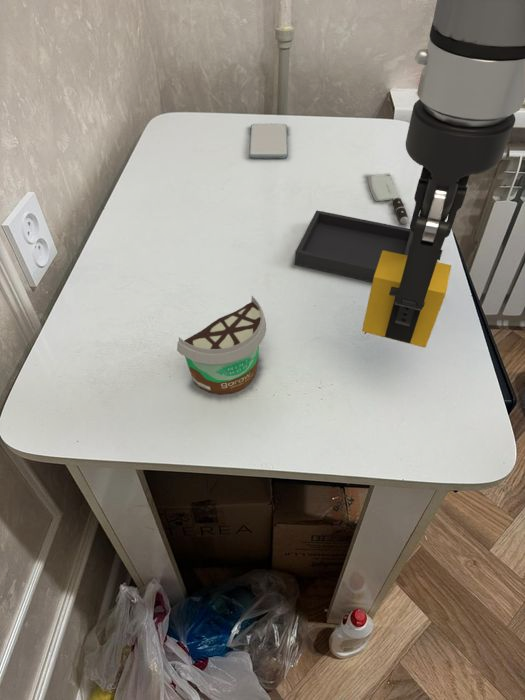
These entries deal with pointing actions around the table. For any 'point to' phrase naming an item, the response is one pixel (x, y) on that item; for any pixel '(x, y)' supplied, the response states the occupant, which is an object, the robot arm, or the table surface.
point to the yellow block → (382, 302)
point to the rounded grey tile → (268, 141)
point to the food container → (226, 350)
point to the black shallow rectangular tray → (349, 245)
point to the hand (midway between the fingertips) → (402, 321)
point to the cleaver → (387, 193)
